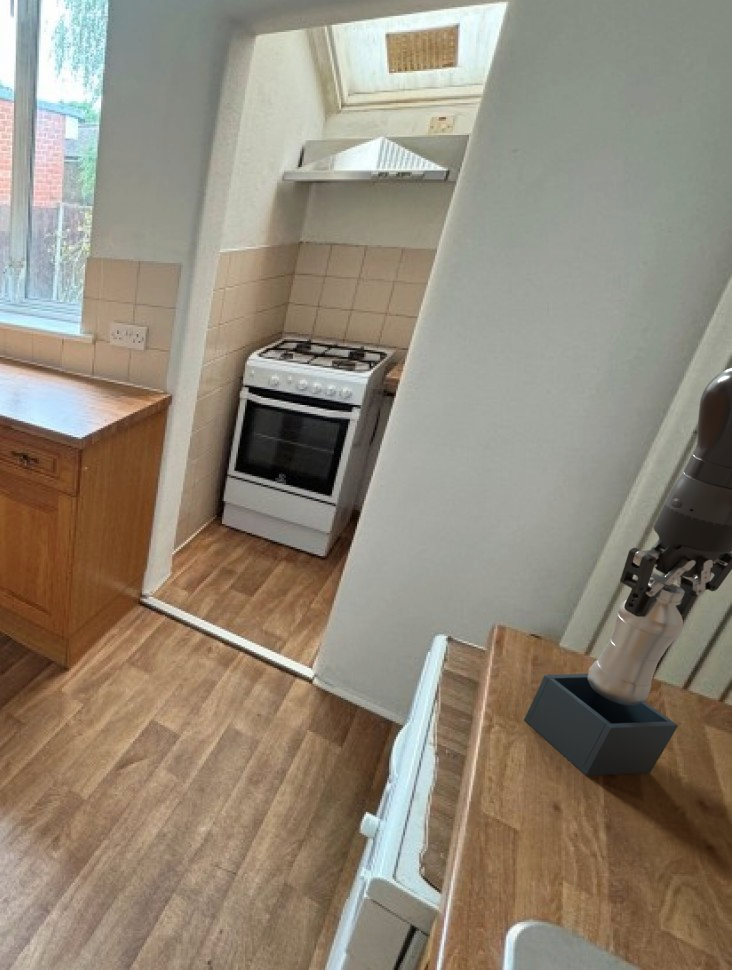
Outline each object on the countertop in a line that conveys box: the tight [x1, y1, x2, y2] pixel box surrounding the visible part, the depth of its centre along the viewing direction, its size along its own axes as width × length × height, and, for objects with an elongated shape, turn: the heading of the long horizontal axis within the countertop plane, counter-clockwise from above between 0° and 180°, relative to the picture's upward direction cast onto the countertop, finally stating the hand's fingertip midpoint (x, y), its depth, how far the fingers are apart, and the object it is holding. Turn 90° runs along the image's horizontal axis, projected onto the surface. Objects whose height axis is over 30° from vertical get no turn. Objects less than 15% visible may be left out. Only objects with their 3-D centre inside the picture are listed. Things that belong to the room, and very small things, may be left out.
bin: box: [523, 673, 679, 777], centre depth 95 cm, size 11×11×10 cm
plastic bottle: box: [587, 578, 685, 706], centre depth 89 cm, size 6×7×20 cm
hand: (654, 612), depth 87 cm, fingers closed on plastic bottle, 5 cm apart
